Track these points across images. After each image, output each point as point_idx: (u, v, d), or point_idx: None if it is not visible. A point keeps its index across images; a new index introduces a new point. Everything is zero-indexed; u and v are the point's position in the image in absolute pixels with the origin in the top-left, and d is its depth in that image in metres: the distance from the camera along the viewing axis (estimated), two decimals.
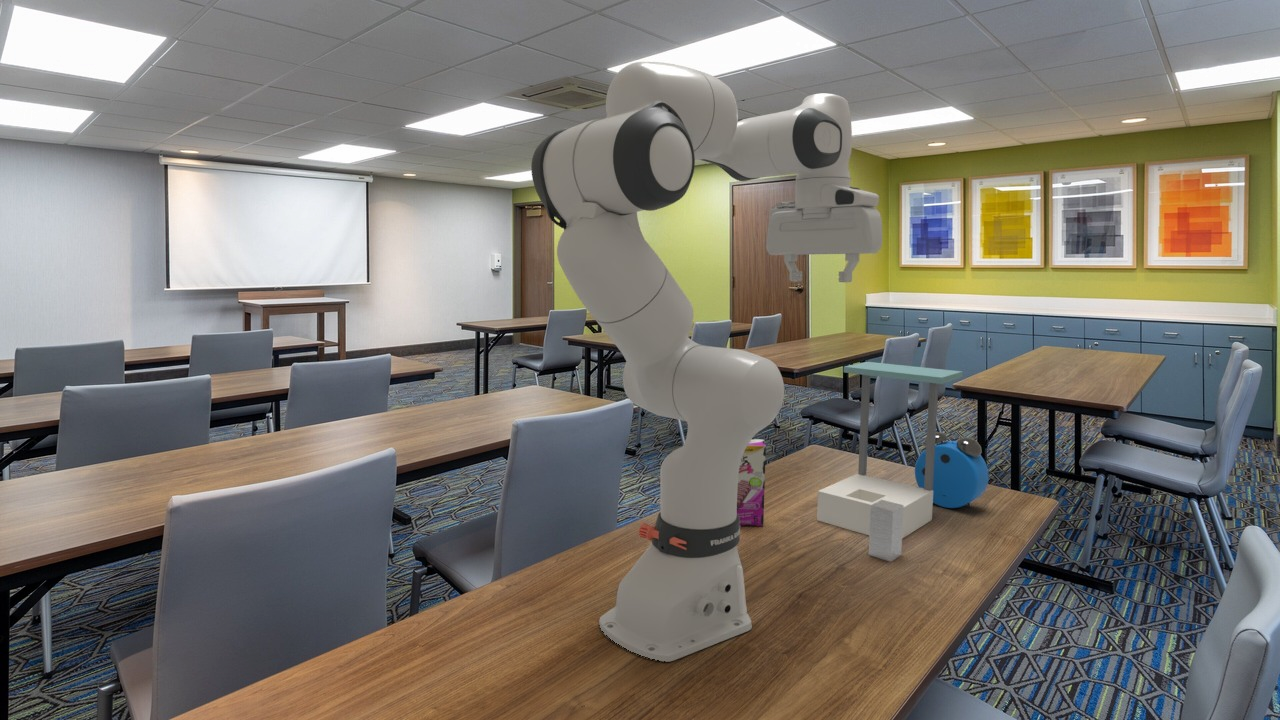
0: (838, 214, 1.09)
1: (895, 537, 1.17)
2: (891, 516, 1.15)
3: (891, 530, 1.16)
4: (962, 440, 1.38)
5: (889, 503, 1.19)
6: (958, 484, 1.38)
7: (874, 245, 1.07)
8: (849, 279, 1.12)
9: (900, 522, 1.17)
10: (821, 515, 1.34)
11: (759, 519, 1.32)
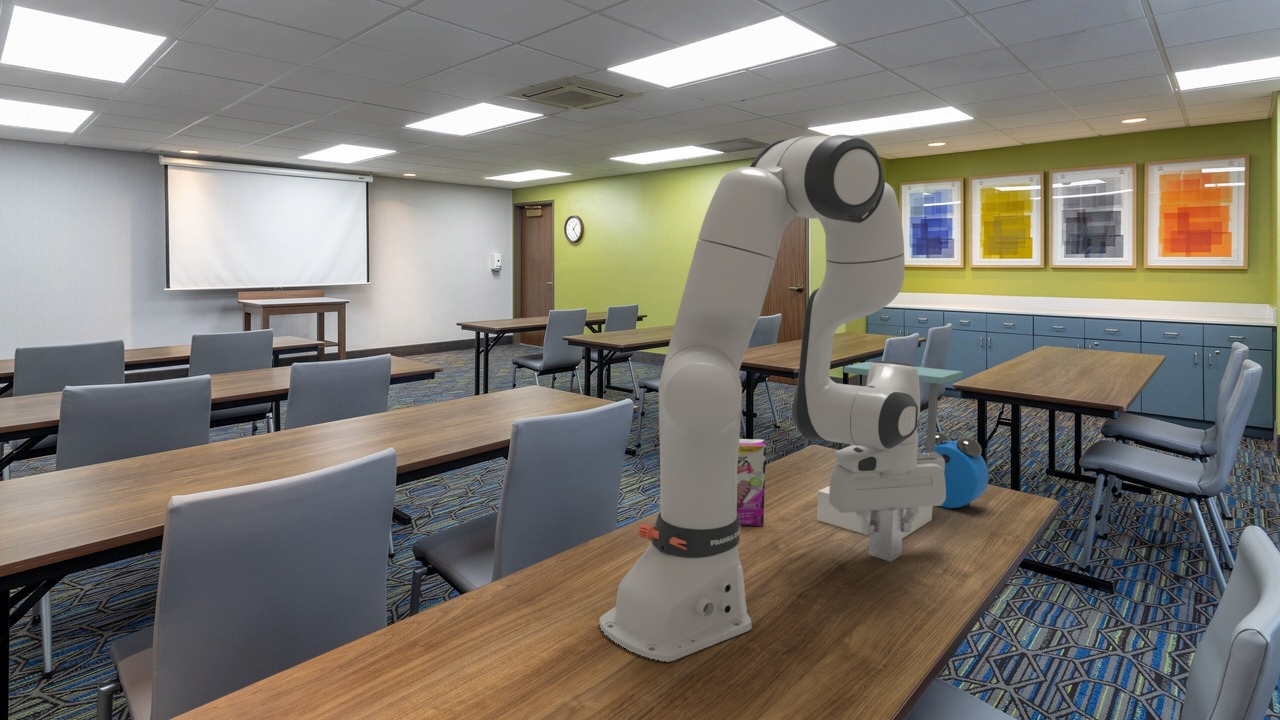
0: None
1: (895, 537, 1.17)
2: (891, 516, 1.15)
3: (891, 530, 1.16)
4: (962, 440, 1.38)
5: None
6: (958, 484, 1.38)
7: (831, 502, 1.17)
8: (864, 531, 1.18)
9: (900, 522, 1.17)
10: (821, 515, 1.34)
11: (759, 519, 1.32)
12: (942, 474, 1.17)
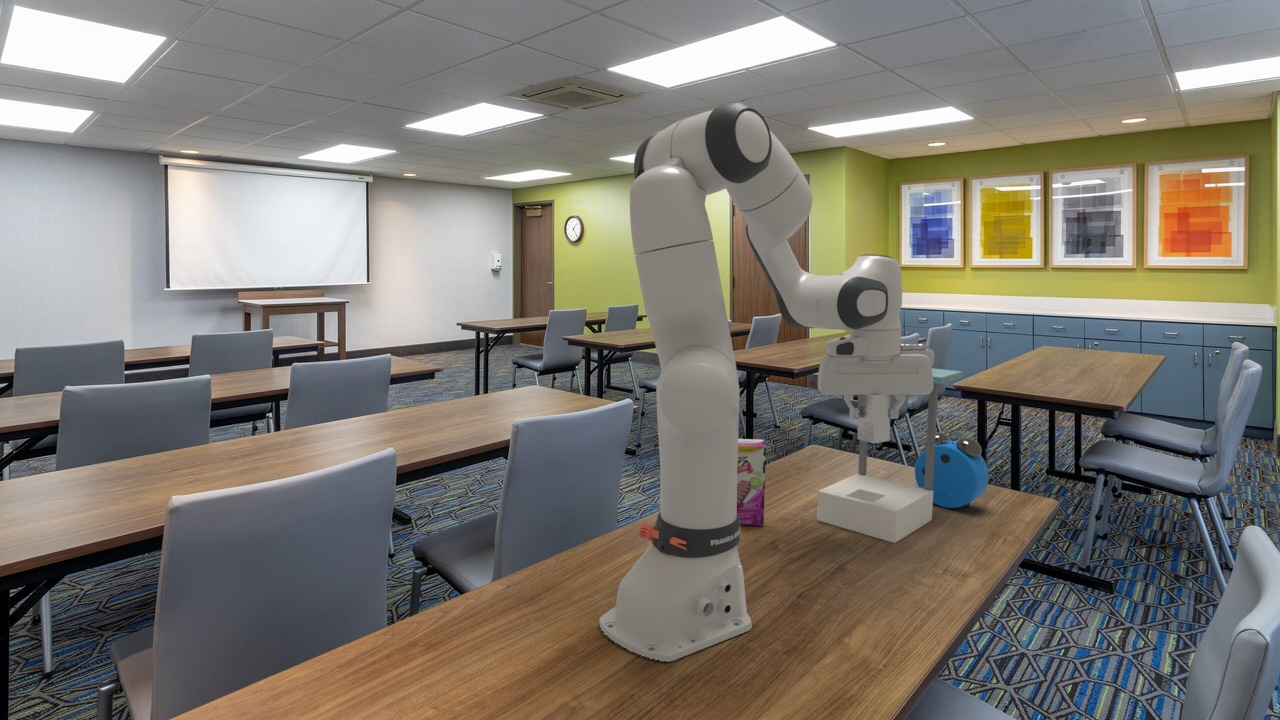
0: None
1: (878, 421, 1.25)
2: (873, 400, 1.24)
3: (873, 413, 1.24)
4: (962, 440, 1.38)
5: None
6: (958, 484, 1.38)
7: (818, 386, 1.28)
8: (850, 415, 1.27)
9: (886, 408, 1.25)
10: (821, 515, 1.34)
11: (759, 519, 1.32)
12: (928, 364, 1.23)
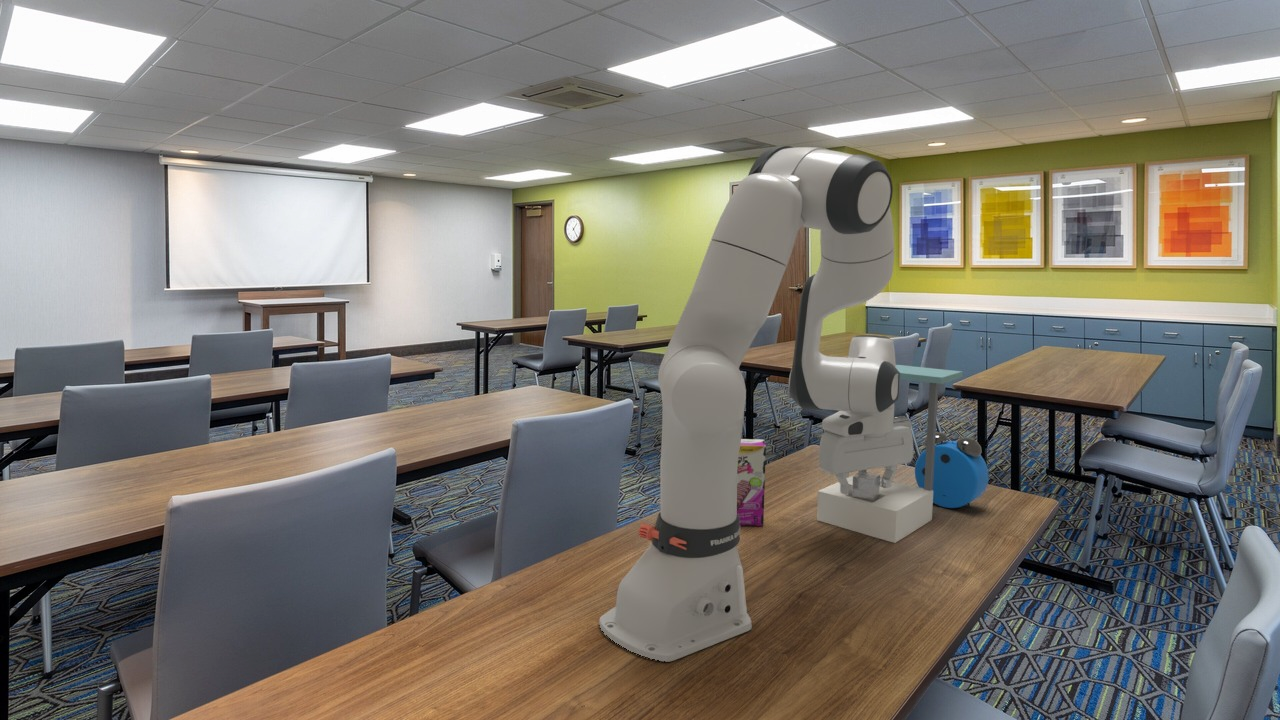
0: None
1: None
2: (872, 485, 1.28)
3: (872, 497, 1.29)
4: (962, 440, 1.38)
5: (867, 474, 1.32)
6: (958, 484, 1.38)
7: (821, 465, 1.27)
8: (843, 491, 1.29)
9: (878, 490, 1.31)
10: (821, 515, 1.34)
11: (759, 519, 1.32)
12: (911, 435, 1.32)
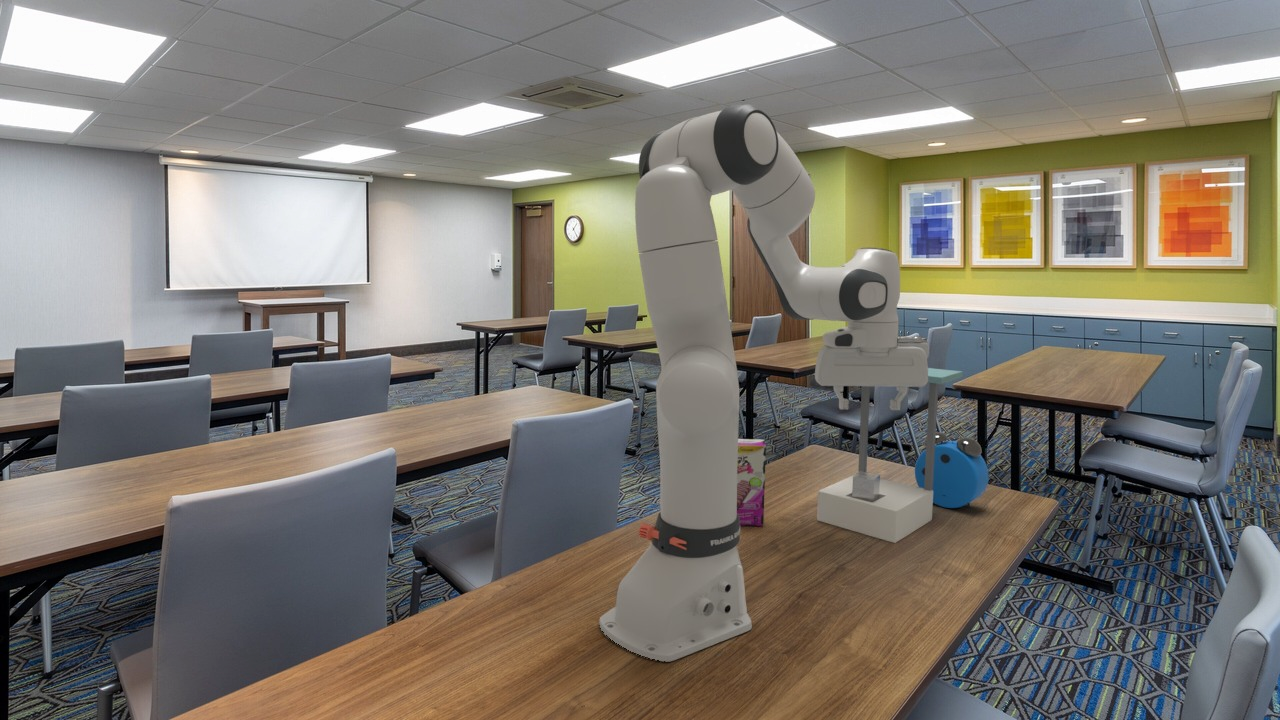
0: None
1: None
2: (872, 485, 1.28)
3: (872, 497, 1.29)
4: (962, 440, 1.38)
5: (867, 474, 1.32)
6: (958, 484, 1.38)
7: (815, 377, 1.30)
8: (839, 406, 1.29)
9: (878, 490, 1.31)
10: (821, 515, 1.34)
11: (759, 519, 1.32)
12: (924, 356, 1.25)
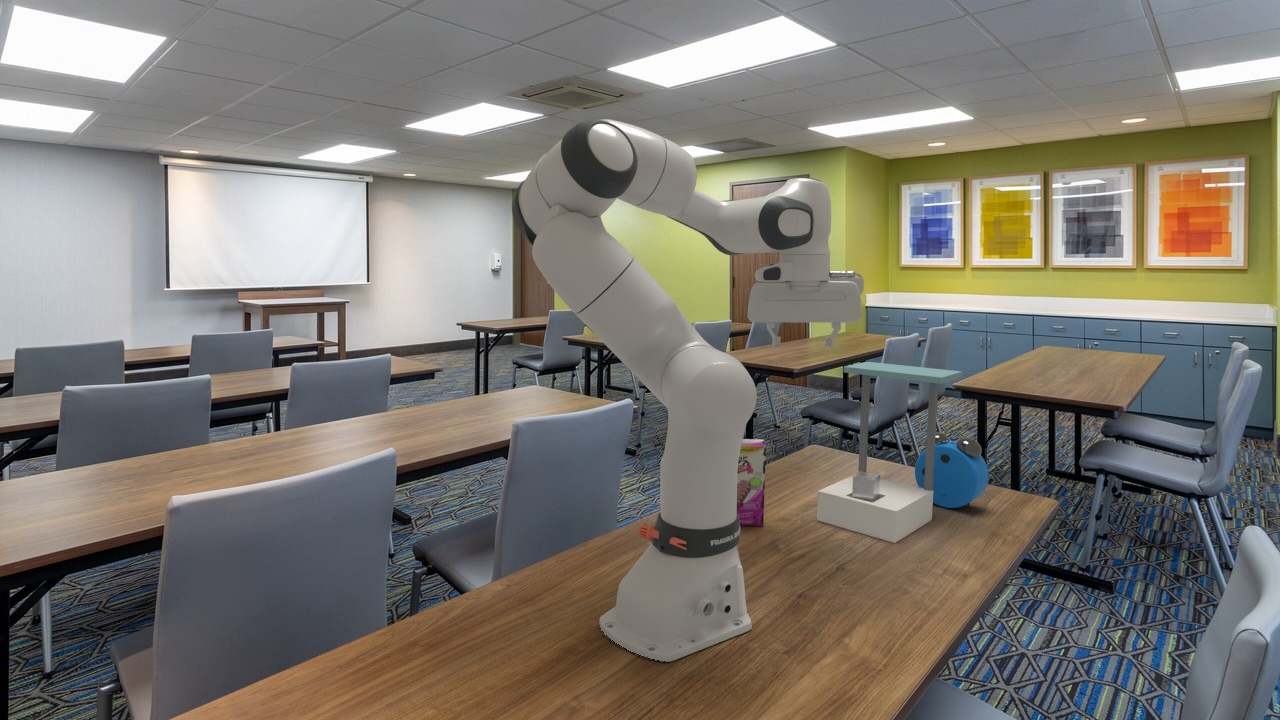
0: None
1: None
2: (872, 485, 1.28)
3: (872, 497, 1.29)
4: (962, 440, 1.38)
5: (867, 474, 1.32)
6: (958, 484, 1.38)
7: None
8: (772, 344, 1.26)
9: (878, 490, 1.31)
10: (821, 515, 1.34)
11: (759, 519, 1.32)
12: (856, 290, 1.21)
